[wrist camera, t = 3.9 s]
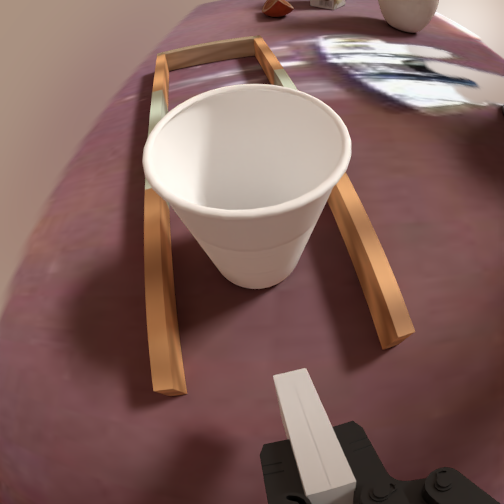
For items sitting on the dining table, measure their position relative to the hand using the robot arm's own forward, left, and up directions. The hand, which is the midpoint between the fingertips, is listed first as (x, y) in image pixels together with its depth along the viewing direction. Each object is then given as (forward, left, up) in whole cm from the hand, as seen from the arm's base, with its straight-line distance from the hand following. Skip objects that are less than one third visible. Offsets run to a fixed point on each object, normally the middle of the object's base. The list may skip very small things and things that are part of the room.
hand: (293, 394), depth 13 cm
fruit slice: (-54, -42, -5) cm, 69 cm away
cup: (-7, -8, -5) cm, 12 cm away
